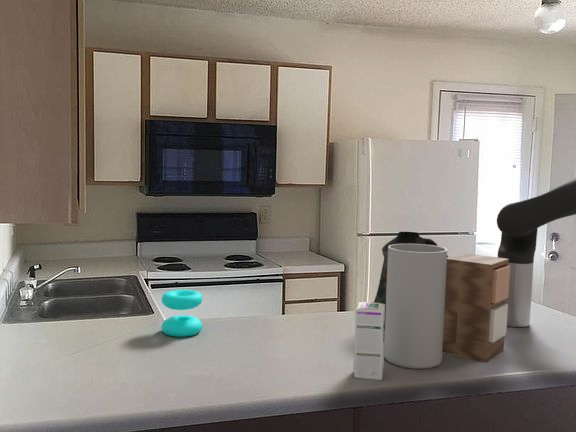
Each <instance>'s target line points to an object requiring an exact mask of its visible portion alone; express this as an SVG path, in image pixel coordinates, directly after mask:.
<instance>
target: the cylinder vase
mask: <svg viewBox="0 0 576 432" xmlns="http://www.w3.org/2000/svg"><path fill="white" fill-rule="evenodd" d="M447 255H448V248H447V247H443V246H438V245H437V246H434V245H425V244H394V245H389V246H388V265H387V290H386V316H385V331H384V359H385V360H387V361H388V362H389V363H391V364H393V365H395V366H399V367H402V368H407V369H415V370H417V369H419V370H420V369H421V370H423V369H431V368H435V367H437V366H439V365H440V364H441V363H442V360H443V352H442V346H443V326H444V306H445V286H446V265H447Z"/></svg>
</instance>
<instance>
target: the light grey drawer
mask: <svg viewBox="0 0 576 432" xmlns="http://www.w3.org/2000/svg"><path fill="white" fill-rule="evenodd" d="M507 311H508V304H505V303H501V304H499V305H496V306H494V307H492V308H490V326H489V342H492V343H493V342H495V341H497V340H498V339H500V338H502V337H503V336H504V337H505V336H506V335H507V327H508V326H507Z"/></svg>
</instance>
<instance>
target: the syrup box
mask: <svg viewBox="0 0 576 432" xmlns="http://www.w3.org/2000/svg"><path fill="white" fill-rule="evenodd" d="M354 311H355V312H354V314H355V315H354V317H355V318H354V351H353V352H354V361H353V363H354V364H353V376H354V378H356V379H362V380H363V379H364V380H374V381H376V380H378V381H382V379H383V377H384V370H385V369H384V365H385V356H384V341H385V331H384V329H385V304H383V303H377V302H374V301H358V302H357V304H356V307H355V310H354Z"/></svg>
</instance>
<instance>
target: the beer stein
mask: <svg viewBox="0 0 576 432" xmlns="http://www.w3.org/2000/svg"><path fill="white" fill-rule="evenodd" d="M394 244H425V245H434V246H438V244H437V242H435V241H434V240H433V239H431V238H426V237H425V238H424V237H422V236H420V233H419V232H417V231H416V232H415V231H399V232H398V234H397V236H396V237H394V238H392V239H391V240H390V241H387V243H386V244H384V246H383V247H382V248H381V250H382V255H383V262H382V267H381V272H380V278H379V284H378V286H377V290H376V294H375V298H374V301H373V302H377V303H383V304H385V316H386V290H387V265H388V246H389V245H394ZM447 257H449V255H448V254H447ZM384 332H385V329H384Z"/></svg>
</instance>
